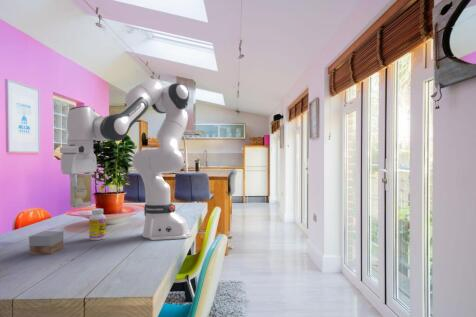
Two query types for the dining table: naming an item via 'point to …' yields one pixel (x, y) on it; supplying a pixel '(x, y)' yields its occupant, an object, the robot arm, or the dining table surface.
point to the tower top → (46, 238)
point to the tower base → (46, 248)
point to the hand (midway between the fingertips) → (81, 185)
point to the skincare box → (81, 191)
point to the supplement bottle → (97, 225)
